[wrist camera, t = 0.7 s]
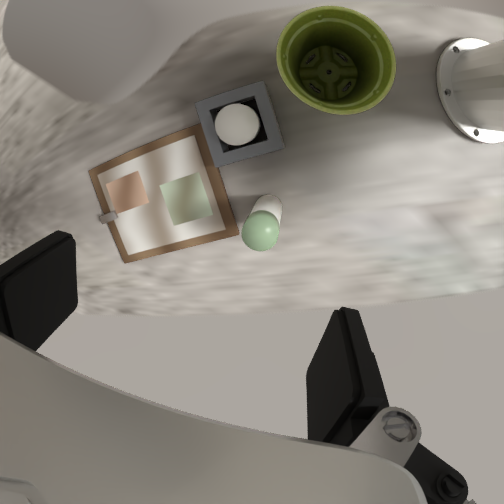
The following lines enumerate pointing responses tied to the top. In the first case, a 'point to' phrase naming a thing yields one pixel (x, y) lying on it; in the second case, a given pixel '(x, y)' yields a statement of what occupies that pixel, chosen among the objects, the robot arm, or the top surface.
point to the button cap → (237, 124)
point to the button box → (236, 96)
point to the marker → (263, 223)
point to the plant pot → (336, 60)
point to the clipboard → (164, 196)
